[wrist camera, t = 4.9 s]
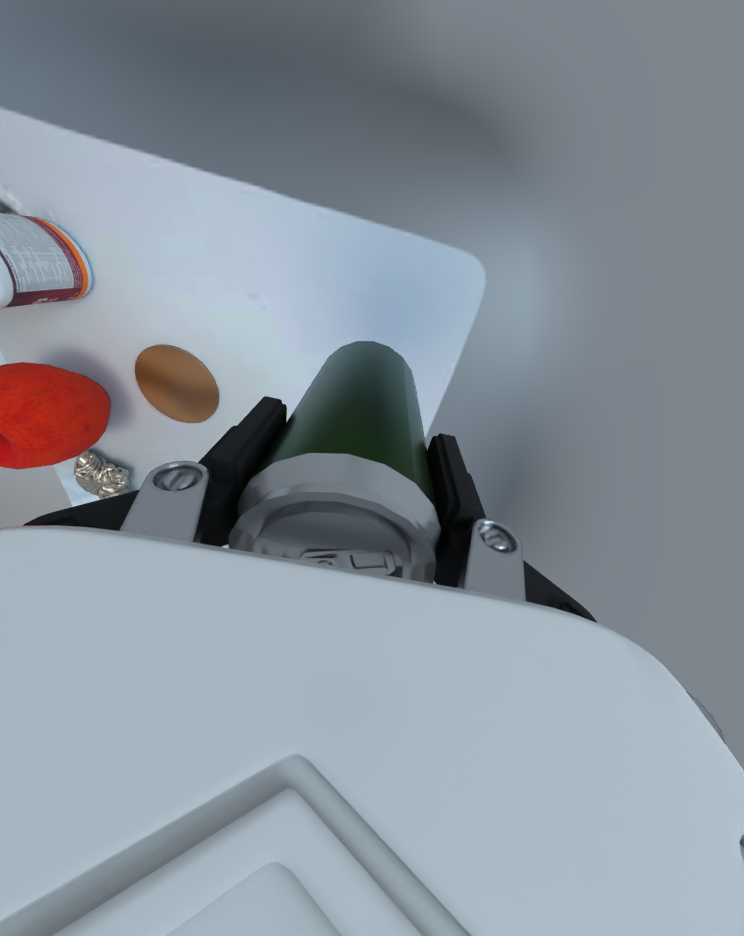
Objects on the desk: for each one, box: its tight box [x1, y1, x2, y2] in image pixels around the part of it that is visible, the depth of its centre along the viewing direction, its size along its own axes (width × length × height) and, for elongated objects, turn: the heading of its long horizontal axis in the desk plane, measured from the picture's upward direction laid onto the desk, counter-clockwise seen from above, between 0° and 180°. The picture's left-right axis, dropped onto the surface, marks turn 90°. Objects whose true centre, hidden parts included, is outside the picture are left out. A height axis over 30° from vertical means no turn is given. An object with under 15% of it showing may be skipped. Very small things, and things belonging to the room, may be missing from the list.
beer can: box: [229, 341, 441, 584], centre depth 12 cm, size 5×5×12 cm
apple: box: [0, 362, 110, 469], centre depth 30 cm, size 10×10×12 cm
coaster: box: [135, 345, 219, 423], centre depth 33 cm, size 9×9×1 cm
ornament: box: [74, 450, 131, 499], centre depth 40 cm, size 8×7×4 cm
